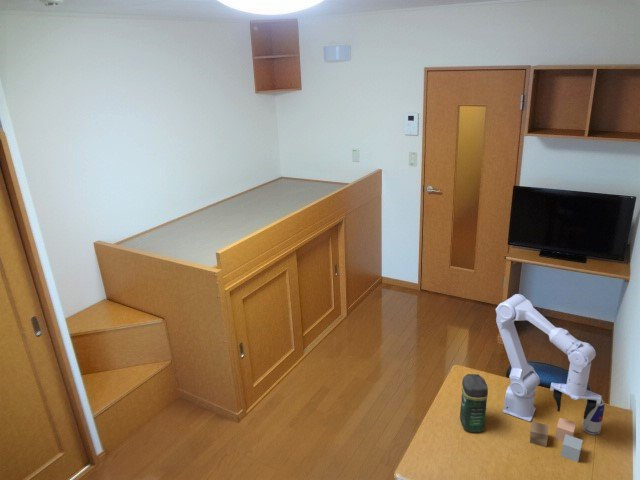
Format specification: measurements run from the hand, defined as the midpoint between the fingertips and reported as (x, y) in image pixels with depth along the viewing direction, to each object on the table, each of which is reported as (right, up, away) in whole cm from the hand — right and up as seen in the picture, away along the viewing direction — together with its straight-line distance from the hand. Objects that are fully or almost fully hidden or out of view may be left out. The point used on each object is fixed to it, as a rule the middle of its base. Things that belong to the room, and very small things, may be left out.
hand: (571, 413), depth 159 cm
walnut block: (-10, -10, +3) cm, 14 cm away
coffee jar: (-29, -8, +12) cm, 32 cm away
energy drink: (+10, -8, +6) cm, 14 cm away
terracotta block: (0, -9, +4) cm, 10 cm away
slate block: (-2, -12, -3) cm, 13 cm away
